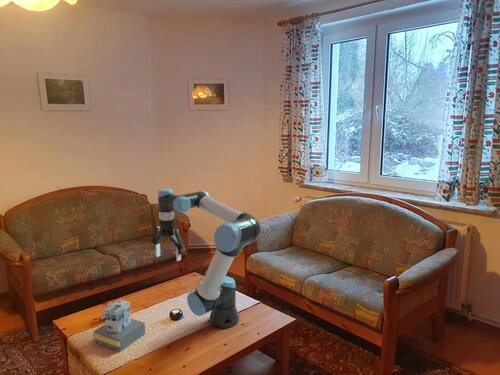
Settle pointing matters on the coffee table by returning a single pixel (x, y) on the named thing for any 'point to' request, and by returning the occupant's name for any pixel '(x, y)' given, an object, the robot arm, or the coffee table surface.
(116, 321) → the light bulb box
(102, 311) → the water lily
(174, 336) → the coffee table surface
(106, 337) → the book
